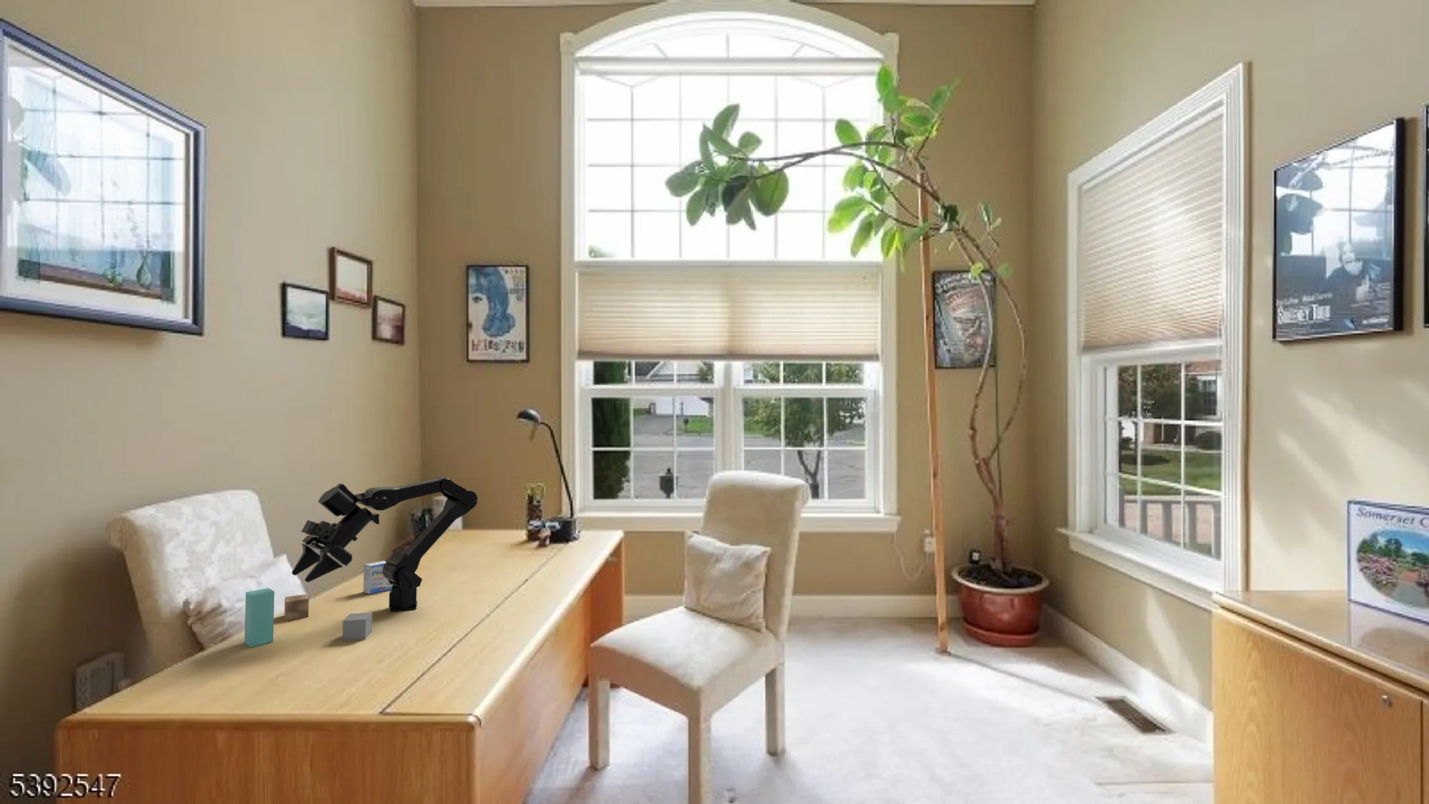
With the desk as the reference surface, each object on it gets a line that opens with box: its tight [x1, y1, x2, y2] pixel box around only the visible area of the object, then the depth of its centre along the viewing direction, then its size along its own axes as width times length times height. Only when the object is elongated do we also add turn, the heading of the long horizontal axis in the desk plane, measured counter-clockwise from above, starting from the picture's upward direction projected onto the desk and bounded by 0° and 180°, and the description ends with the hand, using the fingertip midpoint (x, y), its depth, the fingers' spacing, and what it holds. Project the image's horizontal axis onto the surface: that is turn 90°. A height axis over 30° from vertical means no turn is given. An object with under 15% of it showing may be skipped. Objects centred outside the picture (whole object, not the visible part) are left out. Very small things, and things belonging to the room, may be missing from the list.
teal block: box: [244, 587, 275, 648], centre depth 145 cm, size 4×4×12 cm
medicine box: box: [363, 560, 393, 595], centre depth 187 cm, size 8×4×9 cm, turn 143°
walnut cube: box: [283, 593, 310, 621], centre depth 164 cm, size 5×5×5 cm
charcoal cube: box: [342, 612, 373, 642], centre depth 150 cm, size 5×5×5 cm
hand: (299, 577), depth 152 cm, fingers open, 9 cm apart
